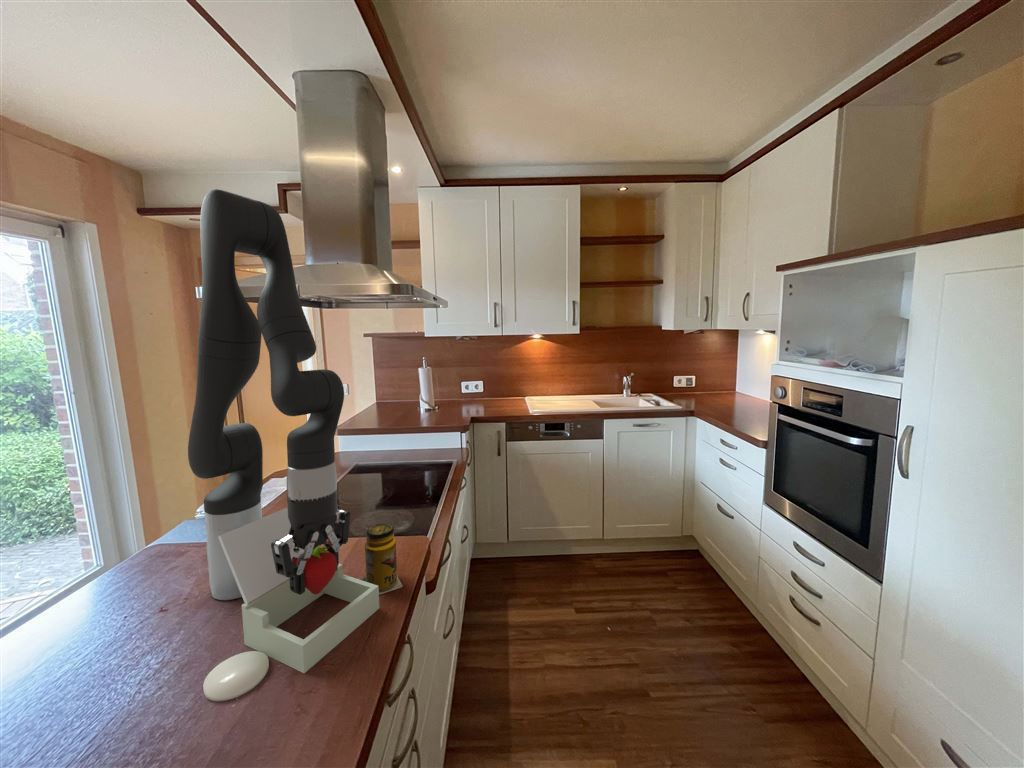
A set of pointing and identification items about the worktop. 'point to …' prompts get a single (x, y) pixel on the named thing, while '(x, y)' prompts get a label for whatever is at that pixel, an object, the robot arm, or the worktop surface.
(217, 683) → the cream white rounded part
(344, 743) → the worktop surface
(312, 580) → the strawberry
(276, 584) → the cold frame
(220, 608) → the worktop surface
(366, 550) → the condiment
